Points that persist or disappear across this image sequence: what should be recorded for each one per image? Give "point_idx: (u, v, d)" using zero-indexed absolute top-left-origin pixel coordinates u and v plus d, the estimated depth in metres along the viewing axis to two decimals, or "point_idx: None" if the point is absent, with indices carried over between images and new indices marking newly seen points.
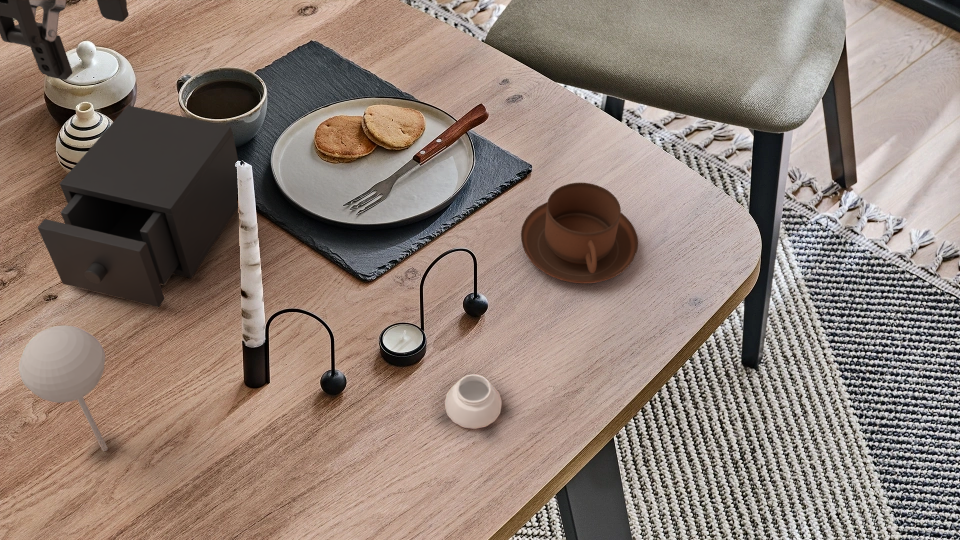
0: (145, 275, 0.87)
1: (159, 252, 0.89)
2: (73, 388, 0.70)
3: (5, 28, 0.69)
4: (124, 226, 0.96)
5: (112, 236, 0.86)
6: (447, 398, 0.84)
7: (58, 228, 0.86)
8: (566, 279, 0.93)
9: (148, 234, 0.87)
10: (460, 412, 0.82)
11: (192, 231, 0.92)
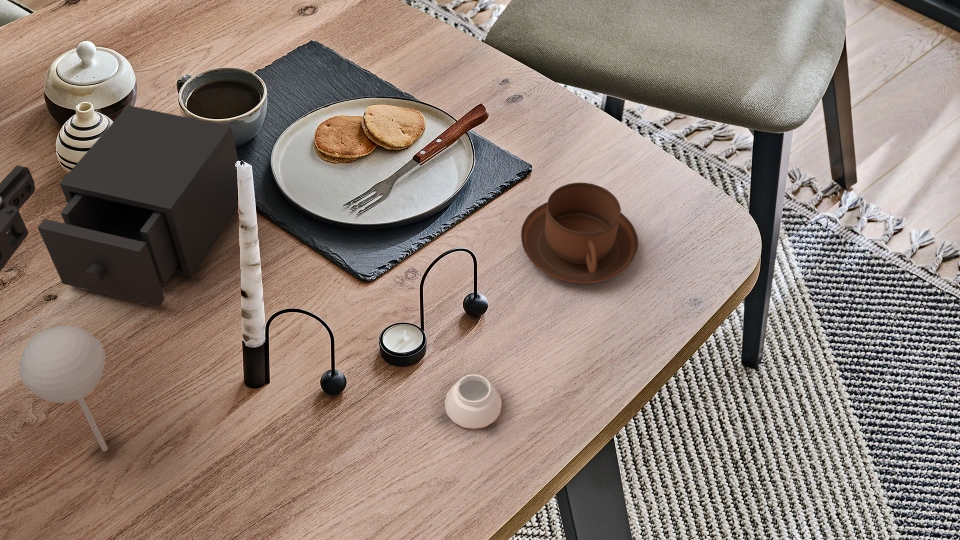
0: (145, 275, 0.87)
1: (159, 252, 0.89)
2: (73, 388, 0.70)
3: None
4: (124, 226, 0.96)
5: (112, 236, 0.86)
6: (447, 398, 0.84)
7: (58, 228, 0.86)
8: (566, 279, 0.93)
9: (148, 234, 0.87)
10: (460, 412, 0.82)
11: (192, 231, 0.92)
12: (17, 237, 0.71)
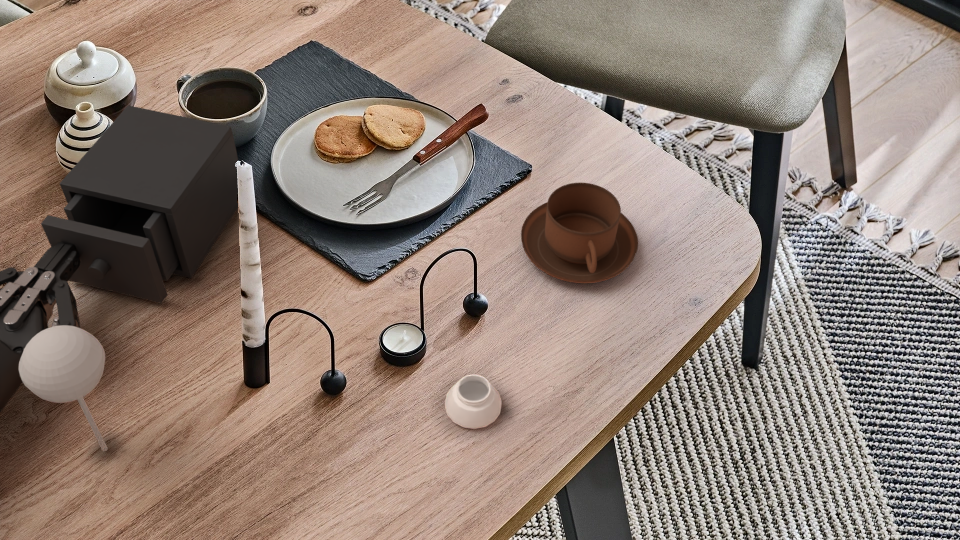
0: (148, 271, 0.87)
1: (162, 248, 0.90)
2: (73, 388, 0.70)
3: None
4: (127, 222, 0.96)
5: (115, 232, 0.86)
6: (447, 398, 0.84)
7: (61, 224, 0.87)
8: (566, 279, 0.93)
9: (151, 230, 0.87)
10: (460, 412, 0.82)
11: (192, 231, 0.92)
12: (73, 304, 0.85)
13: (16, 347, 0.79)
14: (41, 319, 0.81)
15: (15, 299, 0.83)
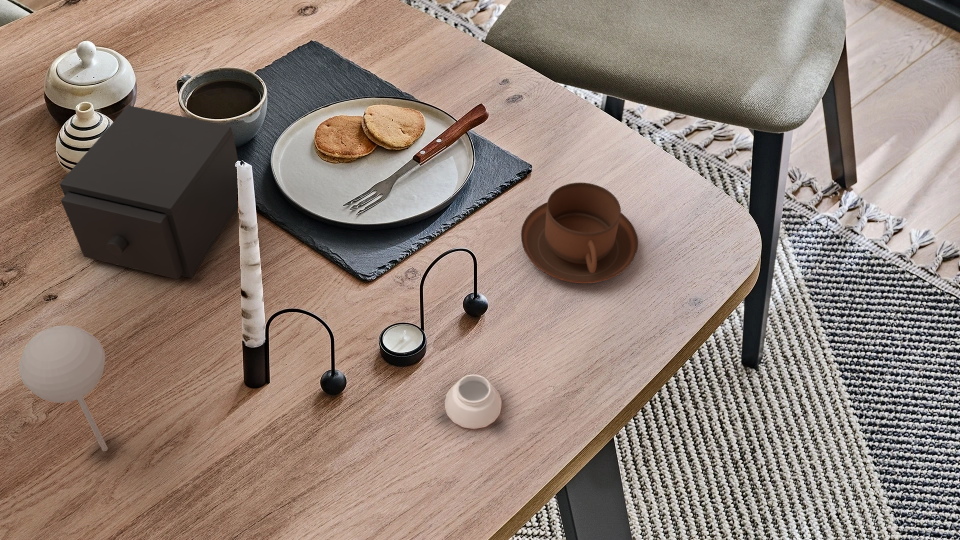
0: (165, 247, 0.90)
1: None
2: (73, 388, 0.70)
3: None
4: None
5: (133, 208, 0.88)
6: (447, 398, 0.84)
7: (81, 201, 0.89)
8: (566, 279, 0.93)
9: None
10: (460, 412, 0.82)
11: (192, 231, 0.92)
12: None
13: None
14: None
15: None
